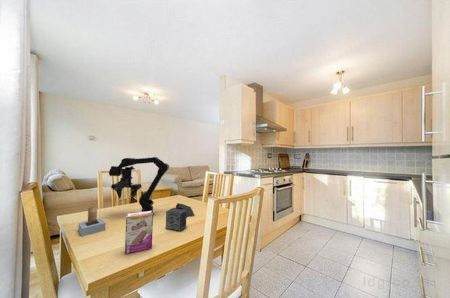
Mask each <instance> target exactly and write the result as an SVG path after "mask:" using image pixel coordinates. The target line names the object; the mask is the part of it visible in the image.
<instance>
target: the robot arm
mask: <svg viewBox="0 0 450 298" xmlns="http://www.w3.org/2000/svg"><path fill="white" fill-rule="evenodd" d="M150 163H151V164H152V163H153V164H154V165H155V166H156V167H157V173H156V175H155V176H154V179H153V181H152V182H151V183H150V185H149V187H148V189H147V190H146V191H144V192H143V193H141V195H140V197H139V199H138V200H139V201H138V203H139V206H141V212H146V211H152V212H153V215H155V213H154V206H153V205H154V201H153V200H152V197H153V193H154V192H155V190H156V188H157V186H158V185H159V183H160V181H161V180H162V177H164V175H165V174H166V173H167V172H168V171H169V170H170V165H169V163H167V162H166V163H165V162H164V161H163V160H161V159H160V158H159V157H157V156H154V157H145V158H144V157H142V158H135V157H125V158H122V159H121V160H120V163H119V165H118V166H117V165H116V166H115V165H112V166H110V169H109V171H108V175H109V176H110V177H120V179H119V181H117V182H116V183H112V184H111V185H110V188H111V189H112V190H113V191H114V192H116V194H117V197H118V199H119V200H120V199H121V197H122V194H123V190H124V188H126V189H127V188H130V191H131V200H133V199H134V198H135V196H136V194H137V192H138V191H139V190H140V189H141V188H142V184H141V183H134V184H133V182H132V180H133V175H132V173H133V170H136V168H135V167H134V165H139V164H140V165H141V164H150Z"/></svg>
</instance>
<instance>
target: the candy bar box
mask: <svg viewBox="0 0 450 298" xmlns="http://www.w3.org/2000/svg"><path fill="white" fill-rule="evenodd" d="M153 213H154V211H153V212H152V211H146V212H142V211H141V212H140V211H139V212H132V213H126V217H125V218H126V220H125V239H124V255H128V254H134V253H138V252H141V251H142V252H143V251H147V250H150V249H152V248H153V231H154V229H153V226H154V225H153V224H154V214H153Z"/></svg>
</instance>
